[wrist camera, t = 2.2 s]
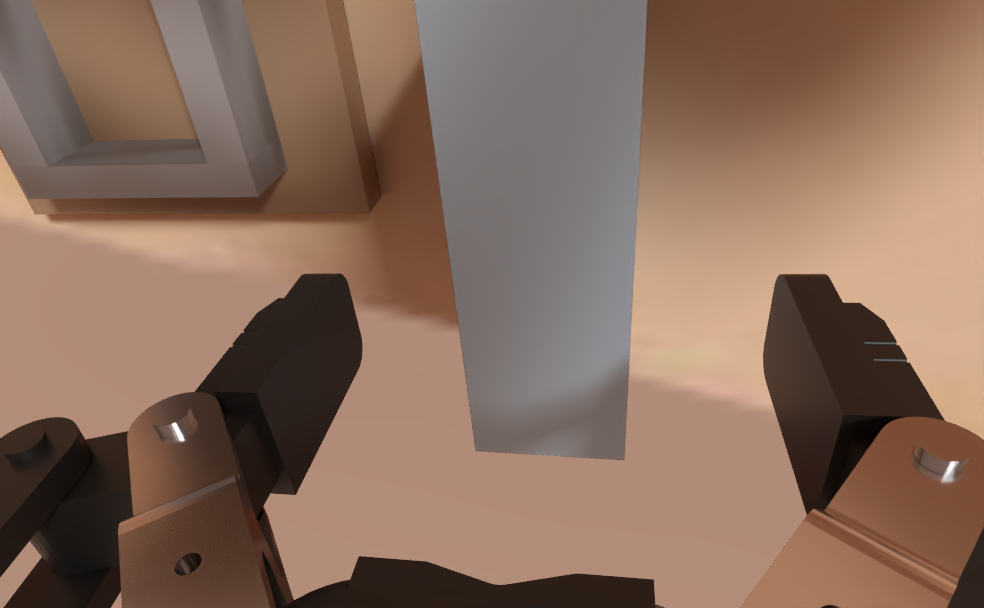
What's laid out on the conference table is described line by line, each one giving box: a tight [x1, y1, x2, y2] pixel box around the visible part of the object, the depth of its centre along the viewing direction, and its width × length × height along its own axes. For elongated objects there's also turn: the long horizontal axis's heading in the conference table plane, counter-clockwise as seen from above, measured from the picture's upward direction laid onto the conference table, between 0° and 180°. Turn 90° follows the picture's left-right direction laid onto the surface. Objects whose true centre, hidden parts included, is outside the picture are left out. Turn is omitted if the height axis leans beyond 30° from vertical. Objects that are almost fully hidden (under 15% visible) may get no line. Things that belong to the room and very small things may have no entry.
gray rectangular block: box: [414, 0, 647, 460], centre depth 16 cm, size 10×4×8 cm, turn 5°
